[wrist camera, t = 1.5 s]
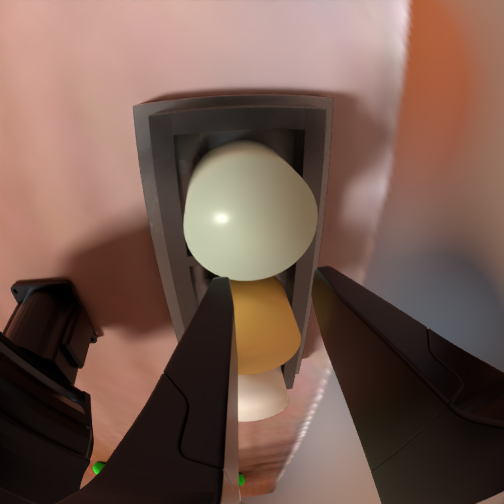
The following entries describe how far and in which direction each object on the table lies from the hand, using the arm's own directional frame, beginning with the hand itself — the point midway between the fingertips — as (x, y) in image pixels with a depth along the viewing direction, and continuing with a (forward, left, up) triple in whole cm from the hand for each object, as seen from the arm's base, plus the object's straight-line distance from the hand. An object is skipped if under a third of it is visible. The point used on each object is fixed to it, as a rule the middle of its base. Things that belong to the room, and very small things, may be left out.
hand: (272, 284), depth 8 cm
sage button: (0, 0, -7) cm, 7 cm away
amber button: (0, -7, -7) cm, 10 cm away
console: (0, -7, -10) cm, 12 cm away
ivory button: (0, -14, -7) cm, 16 cm away
